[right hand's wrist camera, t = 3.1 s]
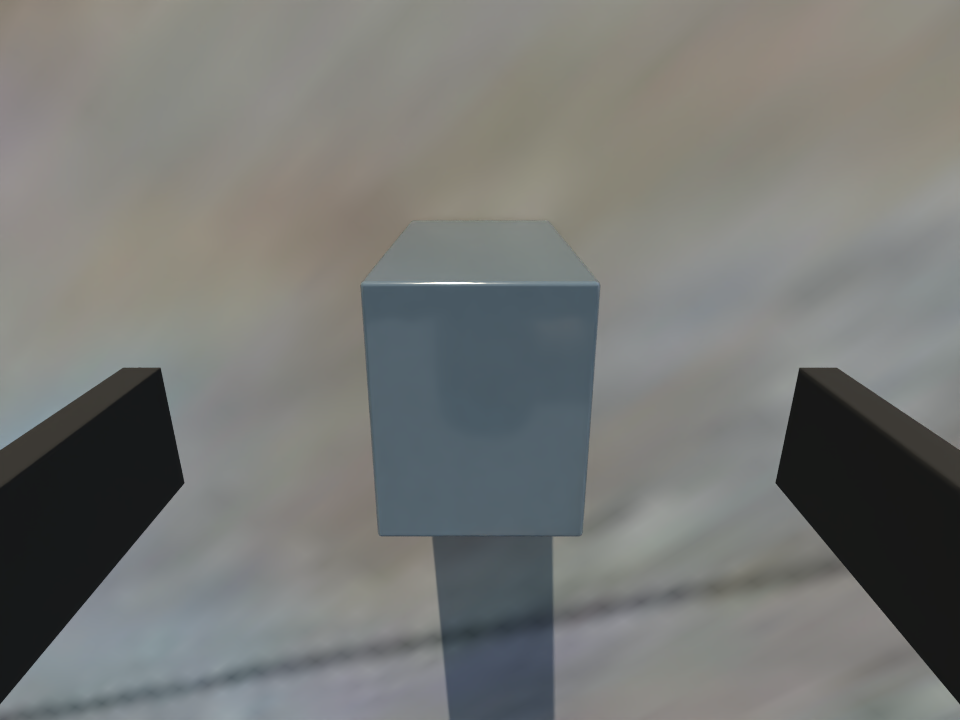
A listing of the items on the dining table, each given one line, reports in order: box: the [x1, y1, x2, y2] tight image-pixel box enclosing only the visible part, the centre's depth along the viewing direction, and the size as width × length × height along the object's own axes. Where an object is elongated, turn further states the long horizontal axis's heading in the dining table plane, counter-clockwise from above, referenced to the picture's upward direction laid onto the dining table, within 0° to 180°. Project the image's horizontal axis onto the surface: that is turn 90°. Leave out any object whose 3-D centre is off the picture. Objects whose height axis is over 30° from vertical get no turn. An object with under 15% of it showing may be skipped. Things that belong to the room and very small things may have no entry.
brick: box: [360, 221, 600, 536], centre depth 18 cm, size 6×5×10 cm
